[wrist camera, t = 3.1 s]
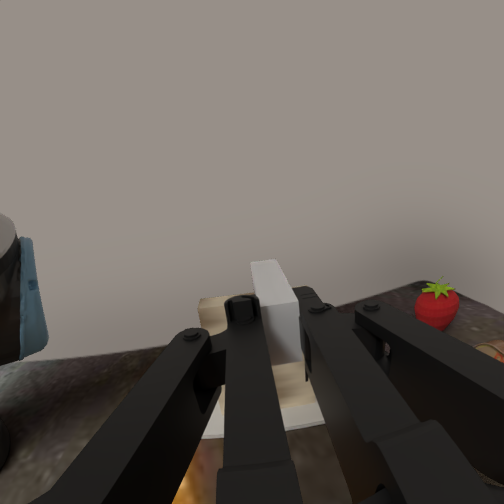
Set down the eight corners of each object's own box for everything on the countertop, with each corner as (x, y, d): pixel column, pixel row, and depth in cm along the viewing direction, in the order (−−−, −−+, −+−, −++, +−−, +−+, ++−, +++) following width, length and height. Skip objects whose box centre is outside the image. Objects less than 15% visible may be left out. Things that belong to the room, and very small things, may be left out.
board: (222, 415, 28) (197, 308, 25) (222, 400, 31) (200, 297, 28) (314, 402, 28) (312, 293, 25) (310, 389, 31) (306, 284, 28)
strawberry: (461, 339, 34) (472, 275, 31) (424, 355, 33) (434, 286, 30) (438, 323, 39) (445, 263, 37) (402, 336, 38) (407, 273, 36)
